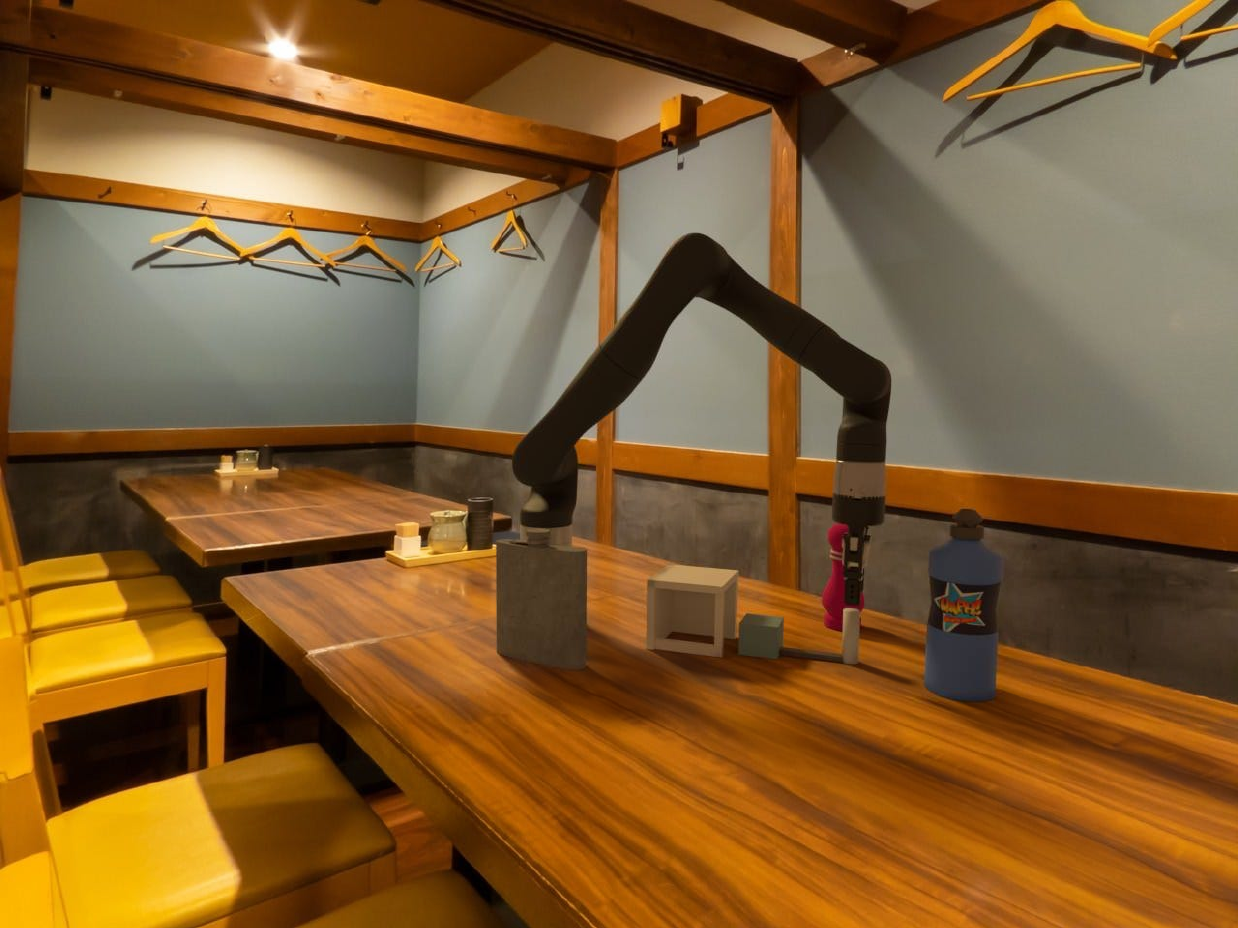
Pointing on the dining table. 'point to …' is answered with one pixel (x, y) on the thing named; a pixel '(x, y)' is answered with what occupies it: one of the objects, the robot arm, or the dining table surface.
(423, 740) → the dining table surface
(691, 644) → the shelf
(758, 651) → the grey block with handle
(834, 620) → the pepper mill
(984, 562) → the water bottle
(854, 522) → the robot arm
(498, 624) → the hip flask
